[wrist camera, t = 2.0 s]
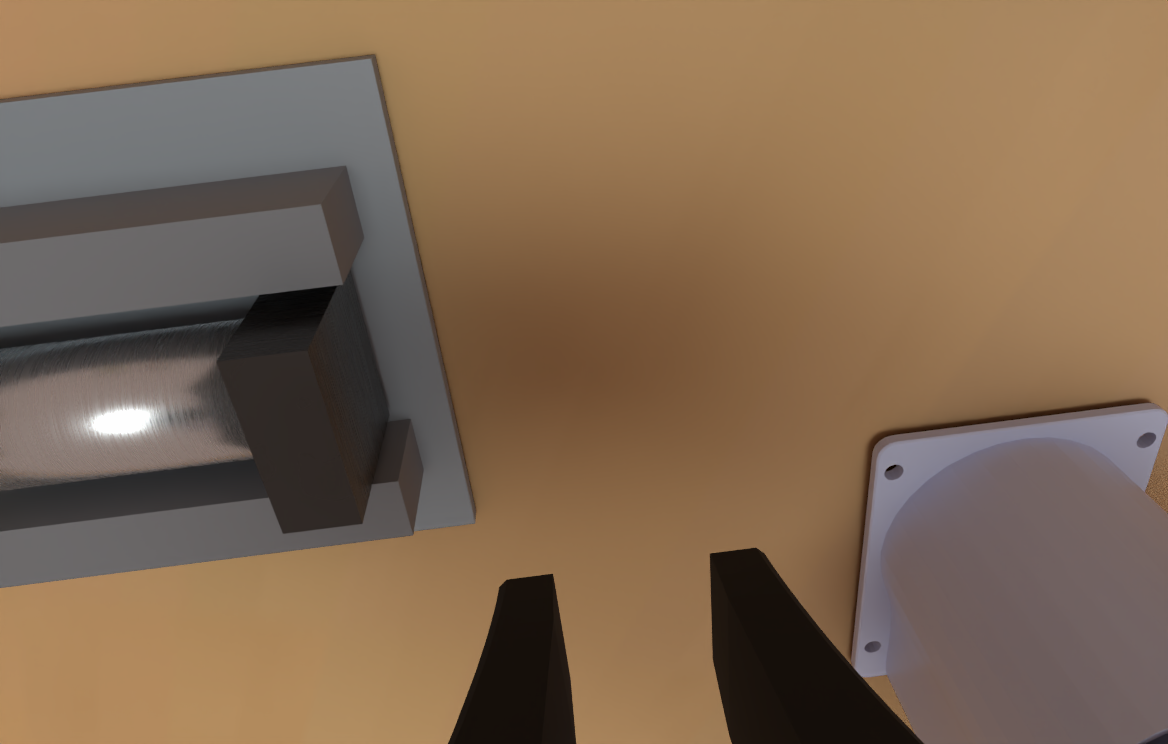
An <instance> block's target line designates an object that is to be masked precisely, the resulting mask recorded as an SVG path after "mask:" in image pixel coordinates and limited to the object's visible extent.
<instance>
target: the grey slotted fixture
mask: <svg viewBox="0 0 1168 744" xmlns="http://www.w3.org/2000/svg"><path fill="white" fill-rule="evenodd" d="M350 270H351V274H352V277H353V281H354V285H355V289H356V292H357V296H358V300H359V303H360V307H361V311H362V314H363V318H364V322H365V325H366V329H367V333H368V336H369V340H370V344H371V348H372V351H373V355H374V359H375V362H376V366H377V370H378V373H379V377H380V381H381V384H382V388H383V392H384V395H385V399H386V403H387V407H388V410H389V419H388V423H387V427H386V431H385V435H384V439H383V443H382V447H381V451H380V455H379V459H378V463H377V467H376V471H375V475H374V479H373V484H372V488H371V492H370V496H369V500H368V504H367V508H366V512H365V516H364V520H363V524H358V525H350V526H342V527H334V528H326V529H319V530H311V531H303V532H295V533H287V534H283V533H282V530H281V528H280V525H279V523H278V520H277V518H276V515H275V512H274V510H273V507H272V505H271V502H270V500H269V497H268V494H267V492H266V489H265V487H264V484H263V482H262V479H261V476H260V474H259V471H258V469H257V466H256V464H255V461H254V459H251V460H243V461H235V462H227V463H219V464H211V465H203V466H195V467H188V468H180V469H172V470H164V471H156V472H148V473H140V474H132V475H124V476H116V477H108V478H100V479H92V480H84V481H76V482H69V483H61V484H53V485H45V486H37V487H29V488H21V489H13V490H5V491H0V588H4V587H12V586H20V585H27V584H35V583H43V582H51V581H59V580H67V579H74V578H82V577H90V576H98V575H106V574H114V573H121V572H129V571H137V570H145V569H153V568H161V567H169V566H176V565H184V564H192V563H200V562H208V561H216V560H223V559H231V558H239V557H247V556H255V555H263V554H270V553H278V552H286V551H294V550H302V549H310V548H318V547H325V546H333V545H341V544H349V543H357V542H365V541H372V540H380V539H388V538H396V537H404V536H412V535H413V534H414V531H420V530H427V529H435V528H443V527H451V526H459V525H467V524H475V520H476V509H475V504H474V500H473V495H472V491H471V486H470V482H469V477H468V473H467V468H466V464H465V459H464V455H463V450H462V446H461V441H460V437H459V432H458V428H457V423H456V419H455V414H454V410H453V405H452V401H451V396H450V391H449V387H448V382H447V378H446V373H445V369H444V364H443V360H442V355H441V351H440V346H439V342H438V337H437V333H436V328H435V324H434V319H433V315H432V310H431V306H430V301H429V297H428V292H427V288H426V283H425V279H424V274H423V269H422V265H421V260H420V256H419V251H418V247H417V242H416V238H415V233H414V229H413V224H412V220H411V215H410V211H409V206H408V202H407V197H406V193H405V188H404V184H403V179H402V175H401V170H400V166H399V161H398V156H397V152H396V147H395V143H394V138H393V134H392V129H391V125H390V120H389V116H388V111H387V107H386V102H385V98H384V93H383V89H382V84H381V80H380V75H379V71H378V66H377V62H376V57H375V55H366V56H358V57H350V58H341V59H333V60H325V61H316V62H308V63H300V64H291V65H283V66H275V67H266V68H258V69H250V70H241V71H233V72H225V73H216V74H208V75H200V76H191V77H183V78H175V79H166V80H158V81H150V82H141V83H133V84H125V85H116V86H108V87H100V88H91V89H83V90H75V91H66V92H58V93H50V94H41V95H33V96H25V97H16V98H8V99H0V349H3V348H11V347H20V346H28V345H36V344H44V343H52V342H60V341H68V340H76V339H84V338H92V337H100V336H108V335H116V334H124V333H133V332H141V331H149V330H157V329H165V328H173V327H181V326H189V325H197V324H205V323H213V322H221V321H229V320H237V319H244V318H245V317H246V315H247V313H248V312H249V310H250V309H251V307H252V306H253V304H254V303H255V301H256V300H257V298H258V297H259V295H263V294H271V293H279V292H287V291H295V290H303V289H311V288H320V287H328V286H336V285H343V284H344V282H345V280H346V277H347V275H348V273H349V271H350Z"/></svg>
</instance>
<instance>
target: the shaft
mask: <svg viewBox="0 0 1168 744" xmlns="http://www.w3.org/2000/svg"><path fill="white" fill-rule="evenodd" d="M388 419H389V410H388V407H387V403H386V399H385V395H384V392H383V388H382V384H381V381H380V377H379V373H378V370H377V366H376V362H375V359H374V355H373V351H372V348H371V344H370V340H369V336H368V333H367V329H366V325H365V322H364V318H363V314H362V311H361V307H360V303H359V300H358V296H357V292H356V289H355V285H354V281H353V277H352V274H351V270H350V271H349V273H348V275H347V277H346V280H345V282H344V284H343V285H336V286H328V287H320V288H311V289H303V290H295V291H287V292H279V293H271V294H263V295H259V297H258V298H257V300H256V301H255V303H254V304H253V306H252V307H251V309H250V310H249V312H248V313H247V315H246V317H245V318H244V319H237V320H229V321H221V322H213V323H205V324H197V325H189V326H181V327H173V328H165V329H157V330H149V331H141V332H133V333H124V334H116V335H108V336H100V337H92V338H84V339H76V340H68V341H60V342H52V343H44V344H36V345H28V346H20V347H11V348H3V349H0V491H5V490H13V489H21V488H29V487H37V486H45V485H53V484H61V483H69V482H76V481H84V480H92V479H100V478H108V477H116V476H124V475H132V474H140V473H148V472H156V471H164V470H172V469H180V468H188V467H195V466H203V465H211V464H219V463H227V462H235V461H243V460H251V459H254V461H255V464H256V466H257V469H258V471H259V474H260V476H261V479H262V482H263V484H264V487H265V489H266V492H267V494H268V497H269V500H270V502H271V505H272V507H273V510H274V512H275V515H276V518H277V520H278V523H279V525H280V528H281V530H282V533H283V534H287V533H295V532H303V531H311V530H319V529H326V528H334V527H342V526H350V525H358V524H363V520H364V516H365V512H366V508H367V504H368V500H369V496H370V492H371V488H372V484H373V479H374V475H375V471H376V467H377V463H378V459H379V455H380V451H381V447H382V443H383V439H384V435H385V431H386V427H387V423H388Z"/></svg>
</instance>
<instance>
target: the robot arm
mask: <svg viewBox="0 0 1168 744" xmlns="http://www.w3.org/2000/svg"><path fill="white" fill-rule="evenodd" d="M1167 423H1168V414H1167V412H1166V411H1164V410H1163V409H1162V408H1161V407H1159V406H1158V405H1156V404H1154V403H1143V404H1135V405H1127V406H1119V407H1111V408H1103V409H1095V410H1087V411H1080V412H1072V413H1064V414H1056V415H1048V416H1040V417H1032V418H1024V419H1017V420H1009V421H1001V422H993V423H985V424H977V425H969V426H961V427H954V428H946V429H938V430H930V431H922V432H914V433H906V434H898V435H891V436H888V437H885V438H883V439H882V440H880V441H879V442H878V443H877V444H876V445H875V447H874V449H873V452H872V462H871V472H870V482H869V491H868V501H867V511H866V520H865V530H864V540H863V550H862V559H861V569H860V579H859V589H858V598H857V608H856V618H855V627H854V637H853V647H852V657H851V663H852V665H851V664H850V663H849V662H848V661H847V660H846V658H845V657H844V656H843V655H842V654H841V653H840V652H839V650H838V649H837V648H836V647H835V646H834V645H833V643H832V642H831V641H830V640H829V639H828V637H827V636H826V635H825V634H824V633H823V631H822V630H821V629H820V628H819V626H818V625H817V624H816V623H815V621H814V620H813V619H812V618H811V616H810V615H809V614H808V613H807V611H806V610H805V609H804V608H803V606H802V605H801V604H800V602H799V601H798V600H797V598H796V597H795V596H794V595H793V593H792V592H791V591H790V589H789V588H788V587H787V585H786V584H785V582H784V581H783V580H782V578H781V577H780V576H779V574H778V573H777V571H776V570H775V569H774V567H773V566H772V564H771V563H770V561H769V560H768V558H767V557H766V555H765V554H764V553H763V552H761V551H760V550H759V549H757V548H750V549H743V550H735V551H727V552H719V553H711V554H710V573H711V608H712V644H713V662H714V667H715V671H716V676H717V681H718V685H719V690H720V695H721V699H722V704H723V708H724V713H725V717H726V722H727V726H728V731H729V735H730V739H731V742H732V744H1168V513H1166V512H1165V511H1164V510H1163V509H1162V508H1161V507H1160V506H1159V505H1158V504H1157V503H1156V502H1155V501H1154V500H1153V499H1152V498H1150V497H1149V496H1148V495H1147V494H1146V493H1145V490H1146V487H1147V484H1148V481H1149V478H1150V475H1151V472H1152V469H1153V466H1154V463H1155V460H1156V457H1157V454H1158V451H1159V448H1160V445H1161V442H1162V439H1163V436H1164V433H1165V429H1166V426H1167ZM1143 434H1144V435H1143ZM1142 435H1143V436H1142ZM1140 436H1142V437H1140ZM1139 437H1140V438H1139ZM892 465H896V467H895V468H894V469H892V470H890V471H886V469H887V468H888V467H890V466H892ZM881 675H887V676H888V678H889V680H890V682H891V685H892V687H893V689H894V691H895V693H896V695H897V697H898V699H899V701H900V703H901V705H902V707H903V710H904V712H905V714H906V716H907V718H908V720H909V722H910V724H911V726H912V728H913V730H914V732H915V734H916V735H915V734H914V733H913V732H912V731H911V730H910V729H909V727H908V726H907V725H906V724H905V723H904V722H903V721H902V720H901V719H900V718H899V717H898V716H897V715H896V714H895V713H894V712H893V711H892V710H891V709H890V708H889V707H888V706H887V704H886V703H885V702H884V701H883V700H882V699H881V698H880V697H879V696H878V695H877V694H876V693H875V691H874V690H873V689H872V688H871V687H870V686H869V685H868V684H867V682H866V681H865V680H864V679H863V678H862V677H874V676H881ZM861 676H862V677H861ZM448 744H576V737H575V726H574V714H573V703H572V692H571V681H570V673H569V667H568V661H567V655H566V649H565V643H564V637H563V631H562V625H561V619H560V613H559V607H558V601H557V595H556V589H555V583H554V577H553V574H548V575H540V576H532V577H525V578H517V579H509V580H506V581H505V582H504V583H503V584H502V585H501V586H500V587H499V592H498V597H497V602H496V607H495V610H494V614H493V618H492V622H491V626H490V629H489V633H488V636H487V639H486V642H485V646H484V649H483V652H482V655H481V658H480V661H479V664H478V667H477V670H476V673H475V676H474V678H473V681H472V684H471V686H470V689H469V691H468V694H467V697H466V699H465V702H464V705H463V707H462V710H461V713H460V715H459V718H458V720H457V723H456V726H455V728H454V731H453V733H452V736H451V738H450V740H449V743H448Z"/></svg>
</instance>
